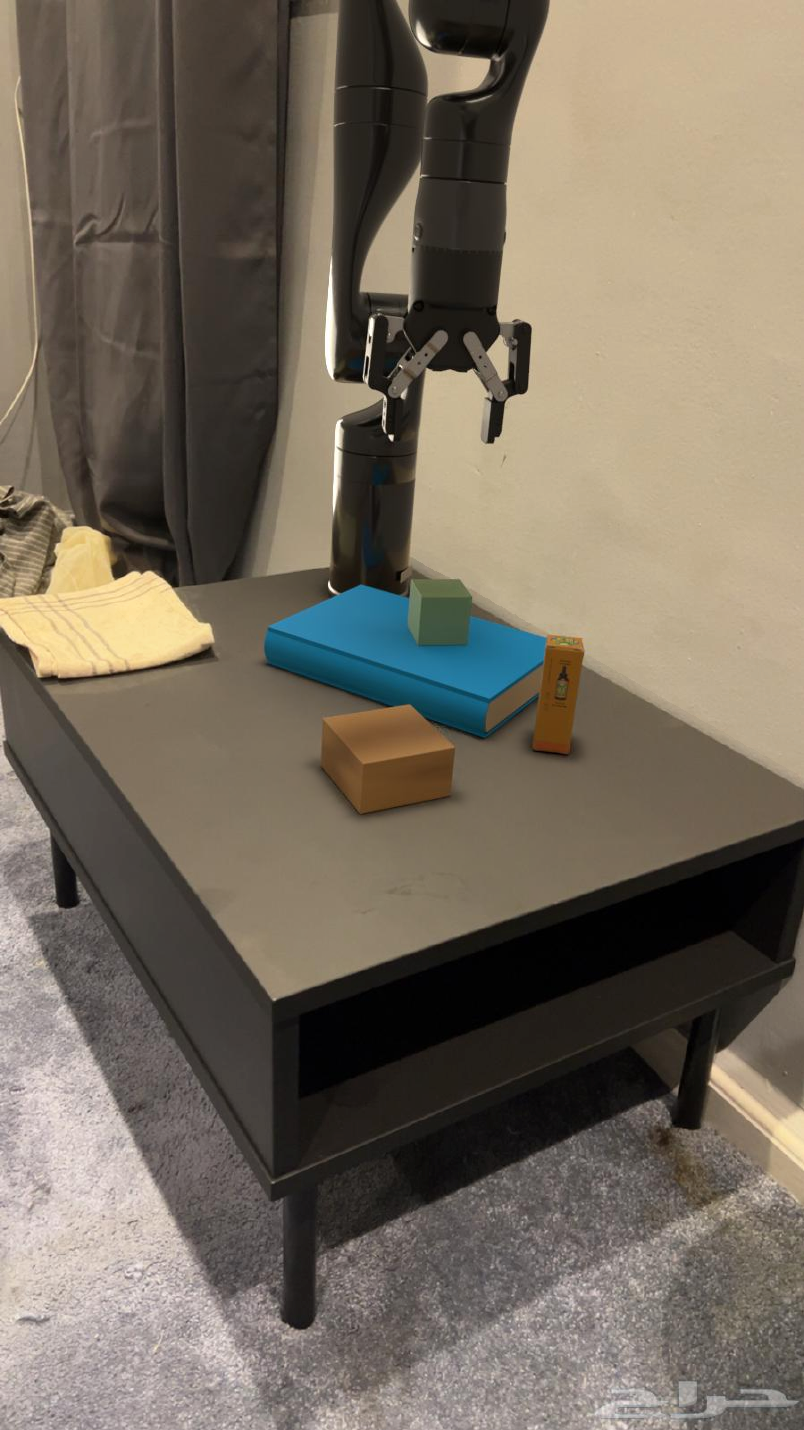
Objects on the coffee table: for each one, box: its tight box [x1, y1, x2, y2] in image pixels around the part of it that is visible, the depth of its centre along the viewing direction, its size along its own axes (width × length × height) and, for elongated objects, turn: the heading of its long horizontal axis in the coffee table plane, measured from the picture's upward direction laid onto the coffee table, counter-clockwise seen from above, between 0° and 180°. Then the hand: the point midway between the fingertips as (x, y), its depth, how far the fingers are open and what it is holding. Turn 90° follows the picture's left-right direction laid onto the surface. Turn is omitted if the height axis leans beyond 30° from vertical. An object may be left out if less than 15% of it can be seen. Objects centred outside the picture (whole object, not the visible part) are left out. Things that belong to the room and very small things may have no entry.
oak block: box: [320, 704, 456, 815], centre depth 85 cm, size 8×8×4 cm
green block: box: [407, 578, 473, 646], centre depth 103 cm, size 5×5×5 cm
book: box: [263, 585, 547, 739], centre depth 105 cm, size 17×4×25 cm
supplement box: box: [532, 634, 586, 755], centre depth 91 cm, size 3×4×10 cm
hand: (440, 441), depth 94 cm, fingers open, 8 cm apart
